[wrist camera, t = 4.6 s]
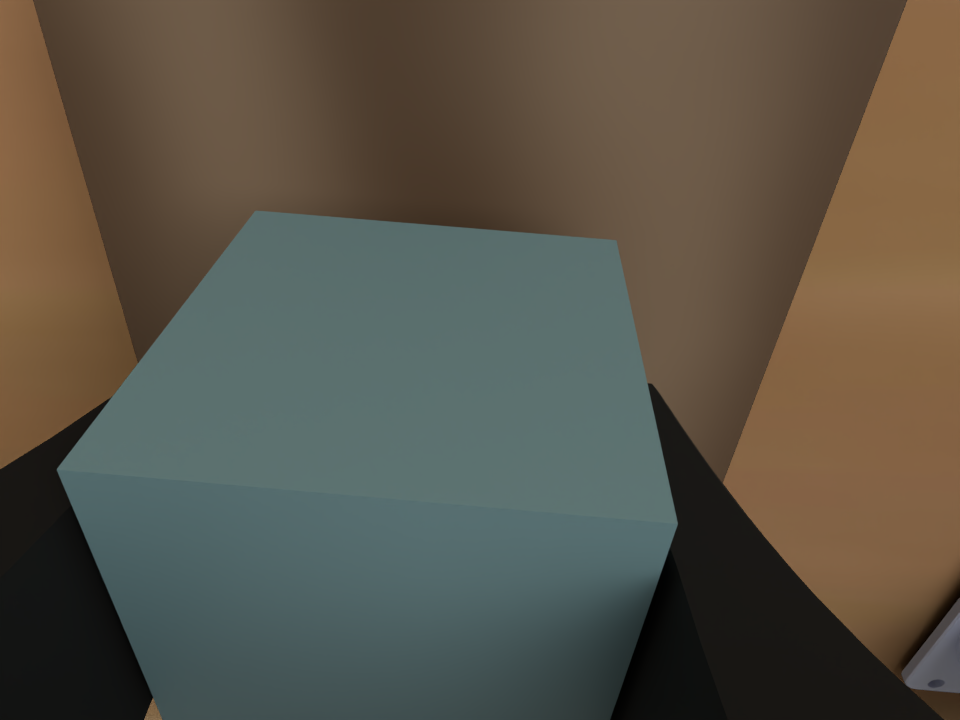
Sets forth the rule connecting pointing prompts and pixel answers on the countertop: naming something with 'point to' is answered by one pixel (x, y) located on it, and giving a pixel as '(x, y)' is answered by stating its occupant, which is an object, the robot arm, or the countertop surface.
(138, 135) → the walnut block
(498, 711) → the teal cube
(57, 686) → the robot arm
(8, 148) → the countertop surface
